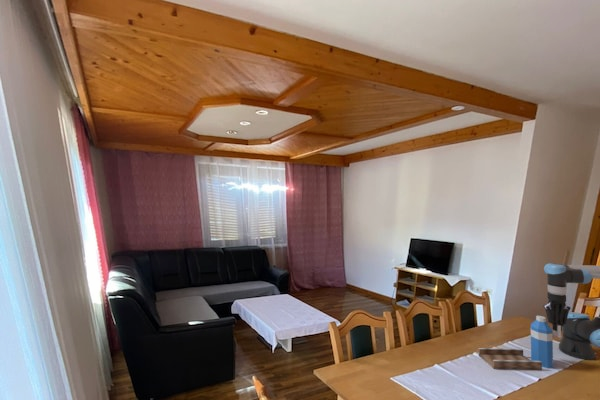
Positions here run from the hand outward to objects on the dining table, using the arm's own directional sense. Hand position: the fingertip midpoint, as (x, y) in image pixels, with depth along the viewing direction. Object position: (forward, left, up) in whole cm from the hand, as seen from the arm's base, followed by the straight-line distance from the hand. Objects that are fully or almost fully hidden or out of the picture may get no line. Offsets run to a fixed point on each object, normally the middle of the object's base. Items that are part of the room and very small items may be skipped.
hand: (557, 336), depth 151 cm
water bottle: (+9, 0, -15) cm, 17 cm away
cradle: (+26, 0, -15) cm, 30 cm away
